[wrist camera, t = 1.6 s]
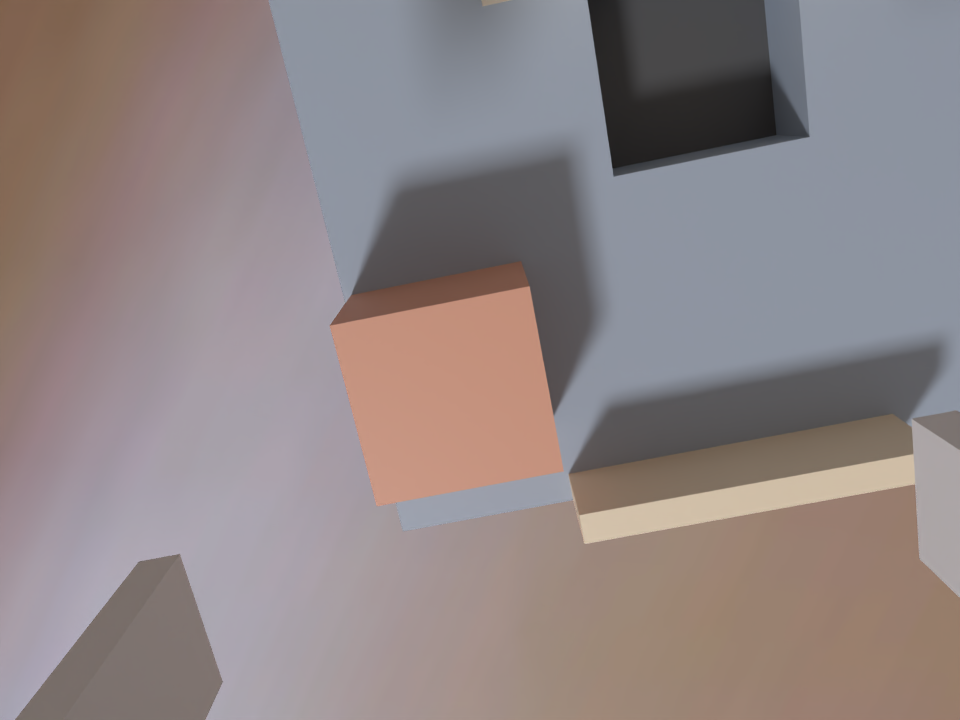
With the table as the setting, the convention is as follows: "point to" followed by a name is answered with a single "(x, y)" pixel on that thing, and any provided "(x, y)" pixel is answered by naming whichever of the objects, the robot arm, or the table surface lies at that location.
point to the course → (664, 227)
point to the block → (448, 384)
